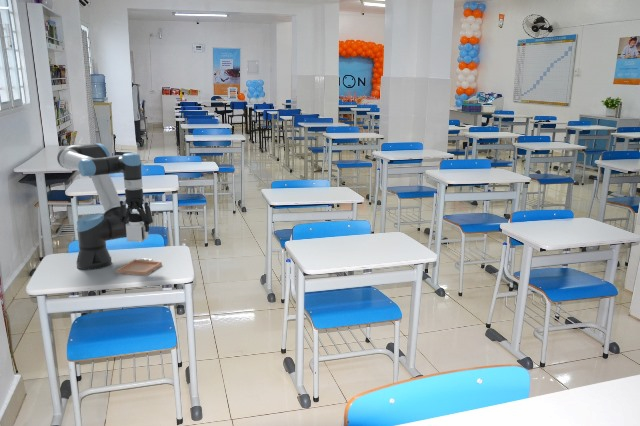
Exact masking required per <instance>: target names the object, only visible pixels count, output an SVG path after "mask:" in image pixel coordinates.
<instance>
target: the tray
mask: <svg viewBox="0 0 640 426" xmlns="http://www.w3.org/2000/svg"><path fill="white" fill-rule="evenodd" d="M162 263H163V262H162V261H157V260H156V261H155V260H154V261H153V260H152V261H145V260H139V259H133V260H131V261H129V262H128V263H125V264H124V265H122V266H121V267H119V268H117V269H116V273H117V274H124V275H125V274H127V275H137V276H147V275H149V274H150V273H152V272H153V271H155V270H157V269H158V268H160V267H161V266H162Z"/></svg>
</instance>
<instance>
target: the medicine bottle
mask: <svg viewBox="0 0 640 426" xmlns="http://www.w3.org/2000/svg"><path fill="white" fill-rule="evenodd" d="M129 223H130V224H129V225H127V226H126V233H127V237H126V241H127V242H144V241H145V240H146V239H144V235H143V225H144V223H143V220H142V218H141V216H140V214H139V212H133V213H132V214H130V215H129Z"/></svg>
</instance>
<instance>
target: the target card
mask: <svg viewBox="0 0 640 426" xmlns="http://www.w3.org/2000/svg"><path fill="white" fill-rule="evenodd" d="M138 260H145V261H153V258H145V257H144V258H143V257H141V258H139V259H138Z"/></svg>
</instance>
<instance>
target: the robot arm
mask: <svg viewBox="0 0 640 426" xmlns="http://www.w3.org/2000/svg"><path fill="white" fill-rule="evenodd" d="M56 160H57V163H58V164H59V166H60V167H61V168H63V169H67V170H76V171H78V172H79V174H80V176H82V177H91V181H92V183H93V186H94V188H95V191H96V193H97V196H98V198H99V201H100V204H101V206H102V208H103V211H104V213H103V214H102V213H90V214H87V215H84V216H82V217H80V218H78V219H77V220H76V231H77V240H78V242H77V243H78V248H79V249H78V254H77V258H76V268H77V269H80V270H85V271H86V270H98V269H99V270H100V269H103V268H106V267H108V266H110V265H111V264H112V256H111V255H110V253H109V250H108V248H107V241H113V240H119V239H123V238H124V239H125V238H126V239H127V233H126V226H127V225H129V224H130V223H129V215H130V214H132V213H134V212H133V210H136V211H137V213H139V214H140V216H141V218H142V220H143V223H144V225H143V235H144V239H145V240H147V239H149V231H150V224H152V223H154V219H153V216H152V211H151V202H150V201H145V200H144V189H143V176H142V160H141V156H140V154H139V153H138V152H137V153H135V152H128V153H123V154H116V155H114V156H110V152H109V150H108V148H107V146H106V145H104V144H103V143H86V144H72V145H68V146H67V145H66V146H65V147H62V149H60V150H59V151H58V153H57V157H56ZM114 174H123V182H124V183H123V184H124V194H125V195H124V196H125V199H123V200H121V199H120V197H119V194H118V191H117V189H116V187H115V184H114V182H113V180H112V178H111V175H114Z"/></svg>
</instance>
